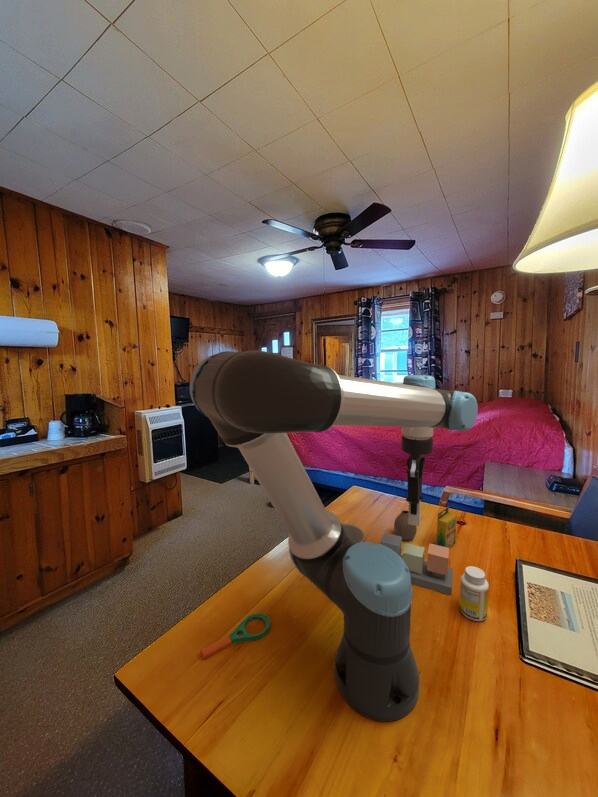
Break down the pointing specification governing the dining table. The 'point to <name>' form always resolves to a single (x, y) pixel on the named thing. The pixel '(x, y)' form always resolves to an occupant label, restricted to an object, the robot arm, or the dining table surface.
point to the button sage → (414, 557)
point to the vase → (404, 527)
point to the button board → (433, 579)
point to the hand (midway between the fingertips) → (413, 523)
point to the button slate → (392, 542)
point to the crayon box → (446, 529)
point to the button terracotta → (438, 559)
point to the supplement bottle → (474, 594)
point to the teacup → (354, 532)
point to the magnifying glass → (234, 638)
